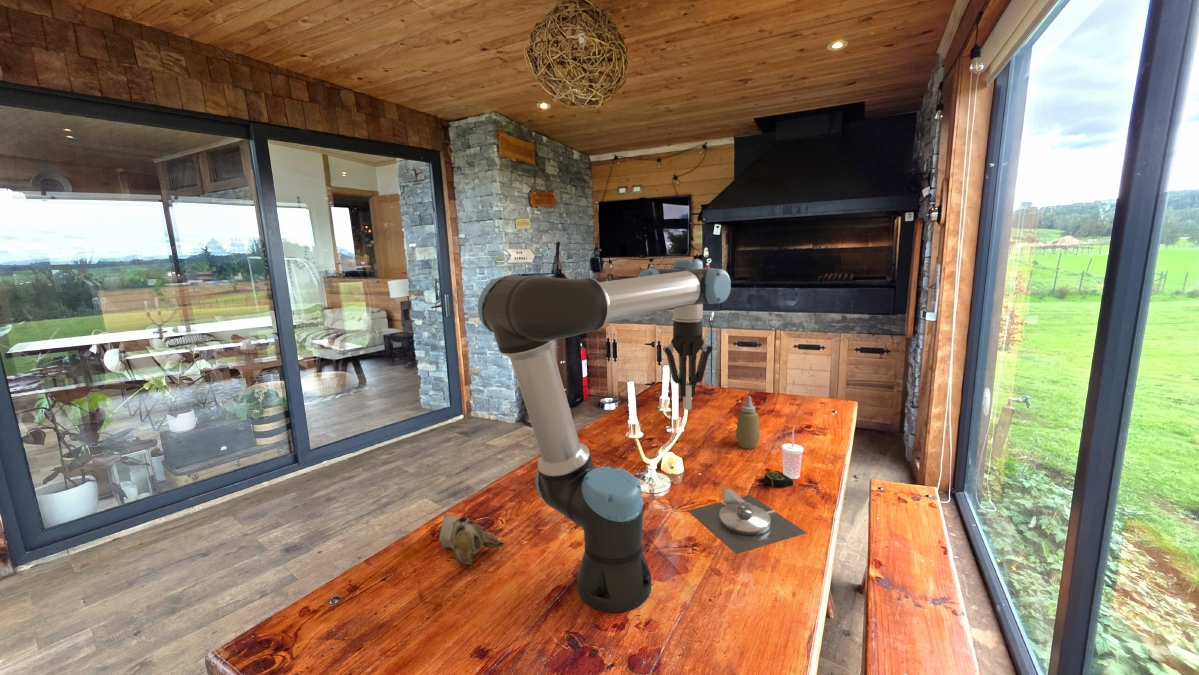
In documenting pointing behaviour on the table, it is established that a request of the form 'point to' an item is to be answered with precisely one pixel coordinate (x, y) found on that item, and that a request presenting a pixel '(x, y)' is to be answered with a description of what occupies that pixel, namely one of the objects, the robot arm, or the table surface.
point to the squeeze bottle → (748, 426)
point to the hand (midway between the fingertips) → (687, 407)
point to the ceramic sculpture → (465, 538)
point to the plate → (741, 542)
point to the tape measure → (777, 479)
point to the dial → (742, 515)
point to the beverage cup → (792, 459)
